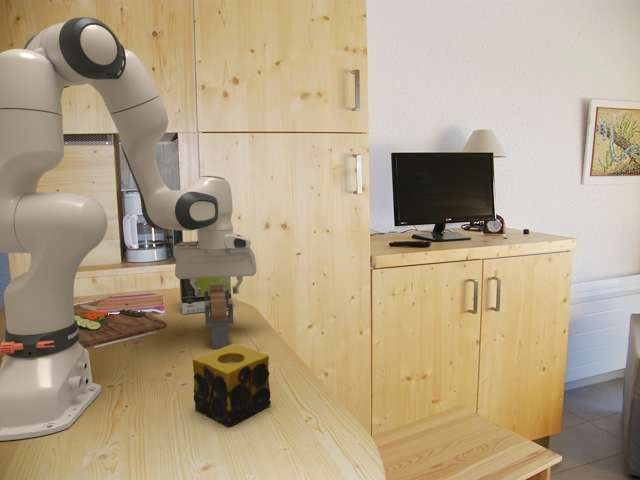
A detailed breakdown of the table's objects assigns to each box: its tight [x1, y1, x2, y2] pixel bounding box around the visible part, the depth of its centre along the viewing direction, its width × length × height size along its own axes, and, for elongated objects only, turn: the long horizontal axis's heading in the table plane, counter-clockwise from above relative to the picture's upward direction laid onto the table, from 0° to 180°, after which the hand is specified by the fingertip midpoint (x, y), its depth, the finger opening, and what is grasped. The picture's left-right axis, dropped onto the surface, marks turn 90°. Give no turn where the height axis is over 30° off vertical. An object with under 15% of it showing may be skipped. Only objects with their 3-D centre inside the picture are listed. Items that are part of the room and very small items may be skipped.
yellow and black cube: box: [192, 342, 272, 428], centre depth 88 cm, size 10×10×10 cm
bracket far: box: [204, 287, 230, 328], centre depth 133 cm, size 4×7×11 cm, turn 104°
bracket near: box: [204, 298, 234, 350], centre depth 119 cm, size 4×7×11 cm, turn 104°
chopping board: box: [74, 298, 168, 350], centre depth 140 cm, size 45×27×3 cm, turn 44°
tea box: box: [179, 277, 232, 315], centre depth 152 cm, size 15×10×15 cm, turn 108°
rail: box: [209, 282, 228, 322], centre depth 126 cm, size 20×4×5 cm, turn 14°
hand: (217, 294), depth 124 cm, fingers open, 8 cm apart
